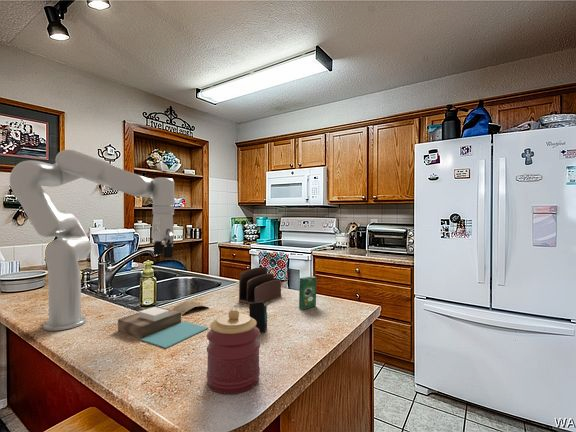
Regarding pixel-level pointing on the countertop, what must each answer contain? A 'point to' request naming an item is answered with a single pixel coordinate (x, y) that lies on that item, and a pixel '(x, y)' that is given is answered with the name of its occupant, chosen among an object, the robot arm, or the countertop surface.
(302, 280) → the coffee box
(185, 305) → the clay tablet
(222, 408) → the countertop surface
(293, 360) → the countertop surface
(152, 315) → the tile
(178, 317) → the brown flat block
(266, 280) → the letter holder
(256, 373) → the canister
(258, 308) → the speaker
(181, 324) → the mat
